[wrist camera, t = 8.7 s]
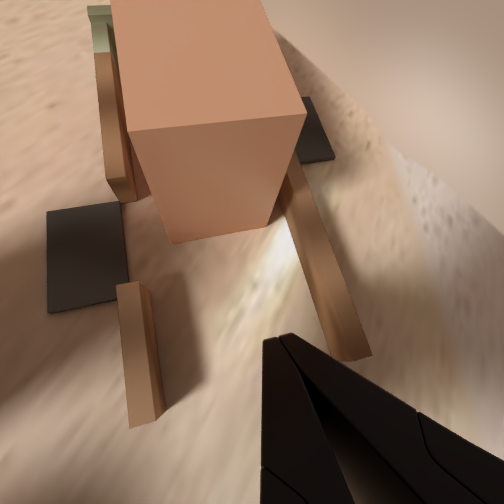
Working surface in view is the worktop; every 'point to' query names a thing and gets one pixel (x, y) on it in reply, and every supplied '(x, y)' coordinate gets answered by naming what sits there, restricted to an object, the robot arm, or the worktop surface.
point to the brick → (207, 110)
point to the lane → (114, 252)
